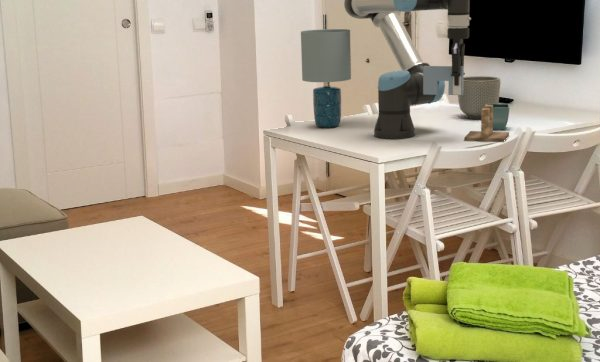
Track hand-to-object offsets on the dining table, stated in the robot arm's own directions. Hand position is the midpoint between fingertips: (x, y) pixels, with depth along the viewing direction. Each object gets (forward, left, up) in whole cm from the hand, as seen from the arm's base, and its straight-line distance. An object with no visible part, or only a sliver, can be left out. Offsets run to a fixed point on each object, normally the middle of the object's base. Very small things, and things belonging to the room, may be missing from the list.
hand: (457, 93), depth 318 cm
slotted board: (-5, 0, 0) cm, 5 cm away
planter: (0, +48, -17) cm, 51 cm away
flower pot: (+11, +23, -17) cm, 30 cm away
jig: (+10, +3, -16) cm, 19 cm away
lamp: (-55, +18, -17) cm, 60 cm away
